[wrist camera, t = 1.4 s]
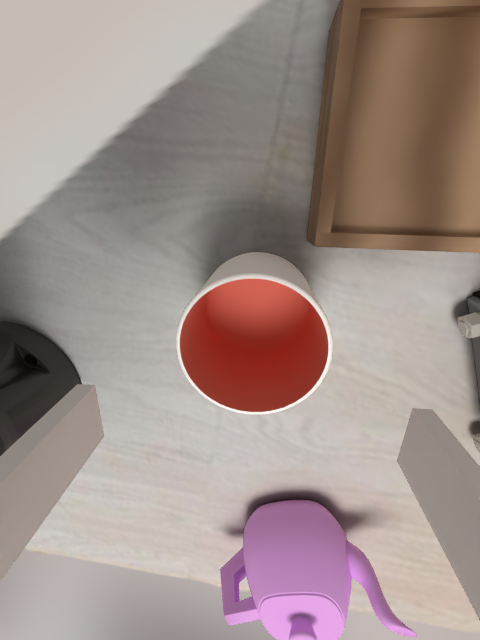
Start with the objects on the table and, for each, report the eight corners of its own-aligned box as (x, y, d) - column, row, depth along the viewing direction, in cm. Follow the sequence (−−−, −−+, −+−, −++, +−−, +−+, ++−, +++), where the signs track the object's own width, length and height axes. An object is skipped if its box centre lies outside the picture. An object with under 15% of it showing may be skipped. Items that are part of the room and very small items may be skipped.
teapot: (381, 553, 39) (423, 678, 28) (239, 563, 42) (230, 678, 32) (370, 482, 34) (415, 599, 24) (213, 499, 38) (192, 609, 28)
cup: (287, 362, 30) (297, 432, 20) (194, 332, 29) (161, 390, 20) (327, 270, 26) (362, 305, 17) (221, 234, 26) (196, 250, 16)
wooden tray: (306, 240, 25) (314, 246, 21) (329, 31, 20) (345, -17, 16) (476, 246, 24) (520, 254, 20) (546, 28, 19) (625, -24, 15)
